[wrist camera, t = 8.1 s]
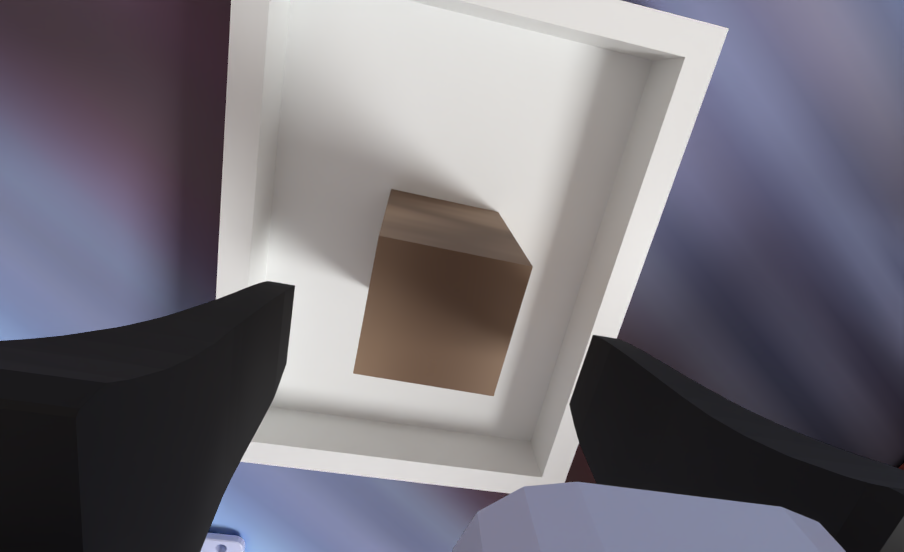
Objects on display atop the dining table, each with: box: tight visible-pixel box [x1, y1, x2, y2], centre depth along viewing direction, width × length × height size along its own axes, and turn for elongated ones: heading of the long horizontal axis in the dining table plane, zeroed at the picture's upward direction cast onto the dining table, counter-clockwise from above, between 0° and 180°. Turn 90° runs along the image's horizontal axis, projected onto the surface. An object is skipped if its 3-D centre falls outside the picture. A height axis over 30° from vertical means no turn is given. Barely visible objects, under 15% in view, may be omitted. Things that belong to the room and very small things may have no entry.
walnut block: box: [353, 189, 533, 396], centre depth 16 cm, size 4×4×6 cm
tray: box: [216, 0, 729, 494], centre depth 18 cm, size 14×18×3 cm
